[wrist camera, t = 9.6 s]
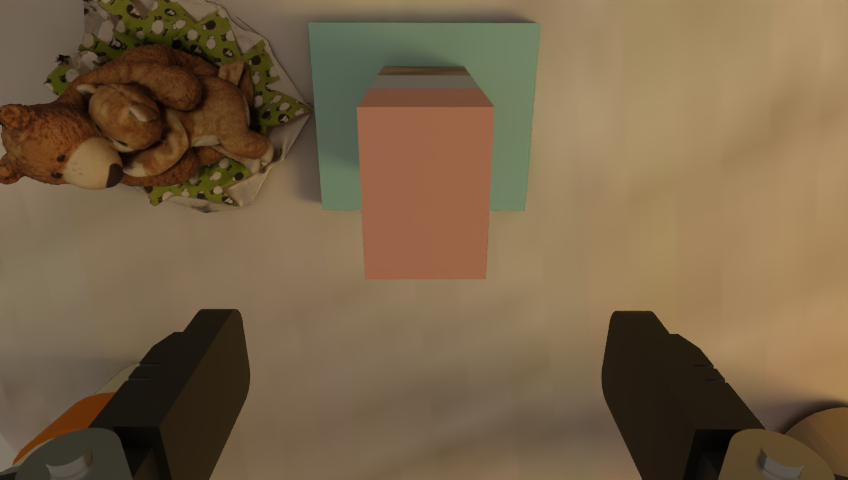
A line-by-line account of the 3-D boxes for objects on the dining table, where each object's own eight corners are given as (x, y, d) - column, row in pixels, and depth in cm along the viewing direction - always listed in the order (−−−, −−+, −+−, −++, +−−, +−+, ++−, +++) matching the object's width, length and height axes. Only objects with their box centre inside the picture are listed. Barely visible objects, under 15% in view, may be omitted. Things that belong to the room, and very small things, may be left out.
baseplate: (536, 22, 33) (540, 23, 32) (522, 204, 38) (524, 210, 37) (311, 22, 33) (307, 22, 32) (325, 204, 38) (322, 210, 37)
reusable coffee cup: (141, 314, 42) (1, 464, 28) (267, 404, 45) (199, 578, 31) (57, 404, 45) (-104, 578, 31) (181, 482, 49) (85, 669, 35)
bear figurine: (251, 239, 39) (183, 330, 28) (48, 134, 36) (-120, 190, 25) (337, 75, 35) (296, 106, 24) (112, -62, 32) (-58, -101, 20)
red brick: (480, 88, 24) (494, 107, 19) (474, 232, 27) (485, 278, 22) (369, 88, 24) (356, 107, 19) (375, 232, 27) (365, 278, 22)
